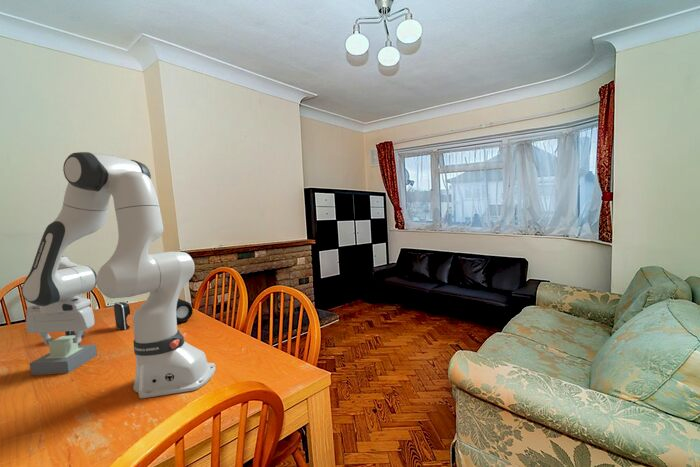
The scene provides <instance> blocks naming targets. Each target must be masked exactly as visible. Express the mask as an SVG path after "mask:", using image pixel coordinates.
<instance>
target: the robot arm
mask: <svg viewBox="0 0 700 467" xmlns="http://www.w3.org/2000/svg"><path fill="white" fill-rule="evenodd" d="M62 171H63V176H64V178H65V179H66V181H67V186H66V188H65V191H64V197H63V201H62V206H61V210H60V211H59V214H58V215H57V217H56V218H55V219H54V220H53V221H52V222H50V223H49V224H47V226H46V228H44V229H45V230H44V232H43V234H42V236H41V239H40V241H39V242H40V243H39V245H38V248H37V251H36V254H35V256H34V260H33V264H32V265H31V268H30V271H29V273H28V274H27V276H26V278H25V280H24V282H23V283H22V286H21V295H22V297H23V298H24V300H26V301H27V302H28V303H29V304H32V305H30V306H29V307H27V309H26V317H25V328H26V329H25V330H26V331H27V333H29V334H38V335H39V337H40V338H41V339H42V340H43V343H44V345H47V346H48V345H49V342H51V341H53V340H54V337H51V336H50V334H49V333H57V332H58V333H59V332H60V333H61V332H62V333H63V332H65V331H74V332H75V334H76V333H77V334H76V336H75V338H73V343H79V342H80V343H81V342H82V339H81V336H82V334H83V332H84V331H87V330H89V329H91V328H93V327H94V325H95V322H96V321H95V316H94V311H93V309H92V307H91V304H92V302H91V299H89V298H86V297H81V296H79V295H84V294H86V293H89V292H92V291H93V290H94V289H95V288H96V286H97V288H98V290H99V291H100V293H101V295H103V296H105V297H106V298H108V299H121V298H131V297H136V296H140V295H144V294H147V293H149V294H148V297H147V299H146V300H145V301H144V302H143V303H142V304H141V305H140V306H139V307H137V308H136V309H135V311H134V313H133V314H132V315H133V316H132V325H133V335H134V339H133V340H132V341H133V342H132V343H133V352H134V355H135V357H136V358H135V359H136V360H135V361H136V362H135V365H136V366H135V376H134V382H133V387H132V389H133V390H134V392H136V393H138V397H139V399H146V398H151V397H152V398H153V397H154V398H155V397H159V396H160V397H161V396H166V395H173V394H178V393H179V394H180V393H185V392H191V391H196V390H198V389H199V388H202V387H203V386H204V385H205V384H207V383H208V382H209V380H210V379H211V378H212V377H213V376H214V374H215V372H216V367H217V366H216V364H215V363H214V362H208V359H207V356H206V353H205V352H204V351H203V350H201V349H199V348H197V347H195V346H194V345H191V344H190V343H188V342H186V341H185V339H184V338H186V336H187V332H184V333H182V334H181V332H180V331H179V329H178V323H177V317H176V308H177V302H178V299H180V298H179V297H180V295H181V292H182V291H183V288H185V286H186V284H188V282H189V280H191V279H192V277H193V276H194V273H195V266H196V265H195V262H194V259H193V258H192V256H191V255H190V254H188V252H185V251H164V252H157V253H151V254H149V249H150V245H151V244H152V243H153V242H154V241H156V240H158V239H159V238H160V237H161V236H162V235H163V232H164V231H165V230H164V221H163V219H162V218H163V217H162V212H161V208H160V203H159V202H160V201H159V198H158V195H157V191H156V188H155V186H154V184H153V181H152V180H151V179H152V177H151V176H152V175H151V171H150V169H149V168H148V166H147V165H145V164H144V163H142V162H140V161H137V160H134V159H127V158H125V157H124V158H123V157H119V156H115V155H110V154H103V153H92V152H87V151H85V152H84V151H82V152H81V151H80V152H79V151H78V152H73V153H71V154H69V155H68V156H67V157H66V159H65V161H64V163H63V168H62ZM111 196H112V199H113V204H114V211H115V216H116V217H115V218H116V222H117V223H116V224H117V232H118V239H117V244H116V247H115V250H114V252H113V254H112V256H111V257H110V258H109V259H108V260H107V261H106V262H105V263H104V264H102V266H101V267H100V268H99V270H98V272H97V273H96V271H95V270H94V269H93V268H92V267H90V266H88V265H82V264H80V263H79V264H78V263H75V262H73V261H71V260H70V259H69V257H67V256H65V255H64V254H63V253H64V252H65V250H66V249H67V247H68V246H70V245H71V244H72V243H74V242H76V241H77V240H80V239H81V238H84V237H86V236H88V235H91V234H93V233H95V232H97V231H99V230H100V229H101V228H103V226H104V224H105V223H106V222H107V218H108V214H109V207H110V198H111ZM63 255H64V256H63Z"/></svg>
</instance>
